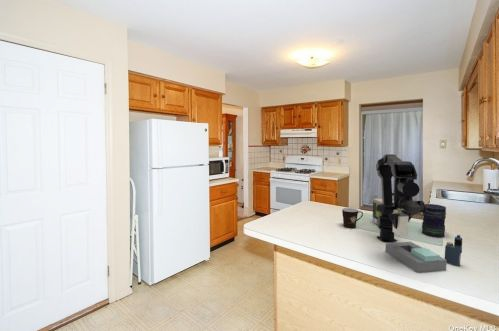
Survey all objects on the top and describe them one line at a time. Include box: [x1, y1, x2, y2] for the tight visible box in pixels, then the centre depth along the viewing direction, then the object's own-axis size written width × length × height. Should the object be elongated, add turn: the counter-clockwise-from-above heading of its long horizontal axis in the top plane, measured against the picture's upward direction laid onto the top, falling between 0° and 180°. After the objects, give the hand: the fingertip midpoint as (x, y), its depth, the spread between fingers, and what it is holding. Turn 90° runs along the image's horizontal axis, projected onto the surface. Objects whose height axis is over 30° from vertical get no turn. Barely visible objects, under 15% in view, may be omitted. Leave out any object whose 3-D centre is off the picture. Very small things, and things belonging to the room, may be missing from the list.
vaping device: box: [444, 234, 463, 267], centre depth 100 cm, size 3×5×12 cm, turn 36°
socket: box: [385, 241, 448, 274], centre depth 104 cm, size 18×12×4 cm, turn 8°
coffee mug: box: [341, 207, 364, 230], centre depth 145 cm, size 12×9×10 cm
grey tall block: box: [393, 212, 409, 236], centre depth 106 cm, size 4×4×9 cm
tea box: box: [371, 198, 402, 225], centre depth 145 cm, size 15×10×15 cm, turn 179°
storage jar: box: [421, 203, 447, 239], centre depth 131 cm, size 10×10×15 cm
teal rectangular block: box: [411, 247, 441, 262], centre depth 98 cm, size 7×6×2 cm
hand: (400, 228), depth 106 cm, fingers closed on grey tall block, 4 cm apart
